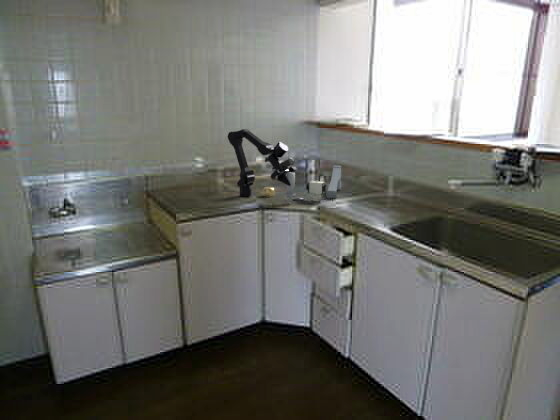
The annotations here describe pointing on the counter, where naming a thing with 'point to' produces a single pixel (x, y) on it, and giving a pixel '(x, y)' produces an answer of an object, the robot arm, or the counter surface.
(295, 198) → the dark grey metal disc
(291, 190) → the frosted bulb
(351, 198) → the counter surface
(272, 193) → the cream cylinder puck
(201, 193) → the counter surface
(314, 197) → the pneumatic valve
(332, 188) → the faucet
